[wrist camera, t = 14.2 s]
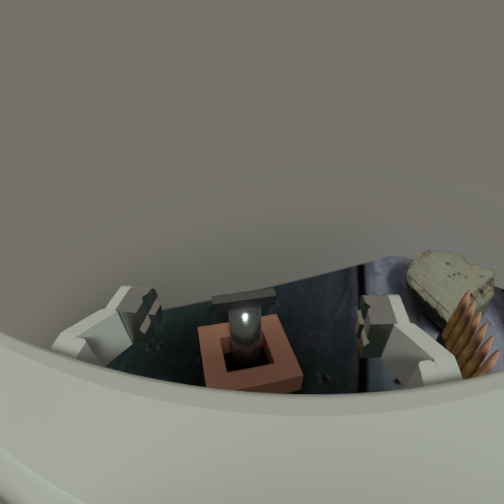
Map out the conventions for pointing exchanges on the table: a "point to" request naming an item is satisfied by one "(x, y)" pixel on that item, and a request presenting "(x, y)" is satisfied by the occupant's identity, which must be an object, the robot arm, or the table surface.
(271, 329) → the orange square frame
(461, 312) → the ammunition clip
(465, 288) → the concrete fragment
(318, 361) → the table surface
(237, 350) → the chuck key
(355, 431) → the robot arm
